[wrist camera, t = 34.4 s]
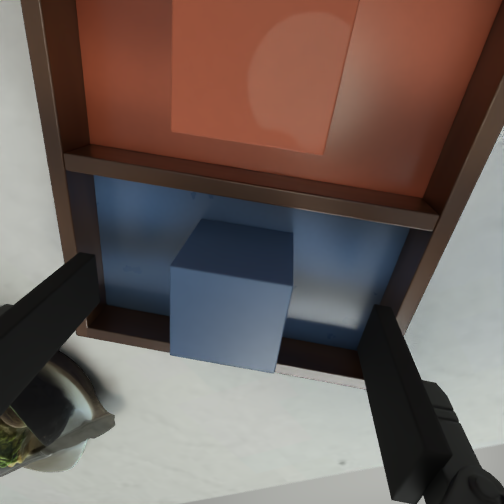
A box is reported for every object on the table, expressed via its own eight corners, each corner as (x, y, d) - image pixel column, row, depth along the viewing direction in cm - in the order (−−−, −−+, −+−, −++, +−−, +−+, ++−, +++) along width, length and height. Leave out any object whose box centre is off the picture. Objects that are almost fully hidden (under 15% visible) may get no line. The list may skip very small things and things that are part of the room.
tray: (367, 353, 21) (377, 392, 19) (102, 305, 22) (76, 335, 20) (548, -80, 11) (624, -128, 9) (52, -144, 12) (-16, -206, 9)
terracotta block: (344, -5, 12) (372, -50, 8) (314, 133, 15) (323, 156, 10) (215, -24, 13) (171, -78, 8) (206, 115, 15) (169, 131, 11)
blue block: (294, 232, 17) (293, 286, 13) (278, 307, 20) (274, 374, 15) (200, 218, 17) (168, 265, 13) (197, 294, 20) (169, 355, 15)
